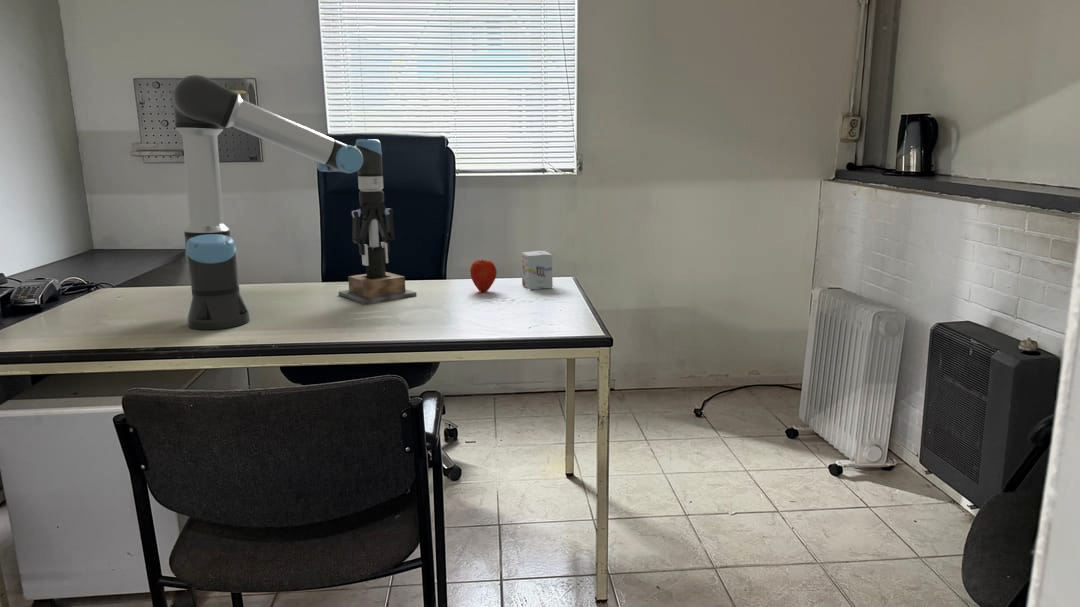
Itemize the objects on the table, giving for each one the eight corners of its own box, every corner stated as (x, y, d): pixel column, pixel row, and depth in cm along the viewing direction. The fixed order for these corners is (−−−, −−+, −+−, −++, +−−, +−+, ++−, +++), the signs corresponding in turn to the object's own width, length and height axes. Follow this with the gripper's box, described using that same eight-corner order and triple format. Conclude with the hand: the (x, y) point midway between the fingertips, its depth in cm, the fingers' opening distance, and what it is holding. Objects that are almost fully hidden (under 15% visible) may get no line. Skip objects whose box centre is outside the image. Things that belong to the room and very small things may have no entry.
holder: (364, 304, 207) (363, 284, 205) (338, 295, 220) (337, 276, 219) (416, 295, 218) (415, 276, 217) (388, 287, 232) (387, 269, 230)
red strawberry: (498, 289, 228) (498, 257, 226) (494, 294, 220) (493, 261, 218) (473, 288, 229) (472, 256, 227) (468, 294, 221) (467, 260, 218)
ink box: (521, 285, 234) (521, 251, 232) (545, 283, 237) (545, 250, 234) (528, 290, 226) (528, 254, 224) (553, 288, 229) (553, 253, 226)
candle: (387, 286, 221) (382, 209, 215) (381, 290, 216) (377, 210, 210) (371, 286, 221) (367, 208, 216) (366, 289, 216) (361, 210, 211)
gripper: (347, 192, 203) (352, 268, 208) (404, 189, 215) (407, 262, 220) (336, 191, 208) (341, 265, 213) (392, 188, 221) (396, 259, 226)
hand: (375, 263), depth 217 cm, fingers closed on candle, 6 cm apart
